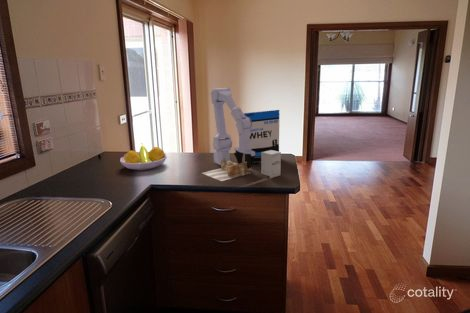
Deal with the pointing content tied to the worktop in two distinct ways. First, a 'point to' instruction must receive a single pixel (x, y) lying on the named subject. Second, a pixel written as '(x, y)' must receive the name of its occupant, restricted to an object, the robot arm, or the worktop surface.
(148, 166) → the fruit bowl
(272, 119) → the protein powder
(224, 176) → the halving base
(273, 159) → the supplement box
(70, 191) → the worktop surface
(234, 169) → the wooden block
